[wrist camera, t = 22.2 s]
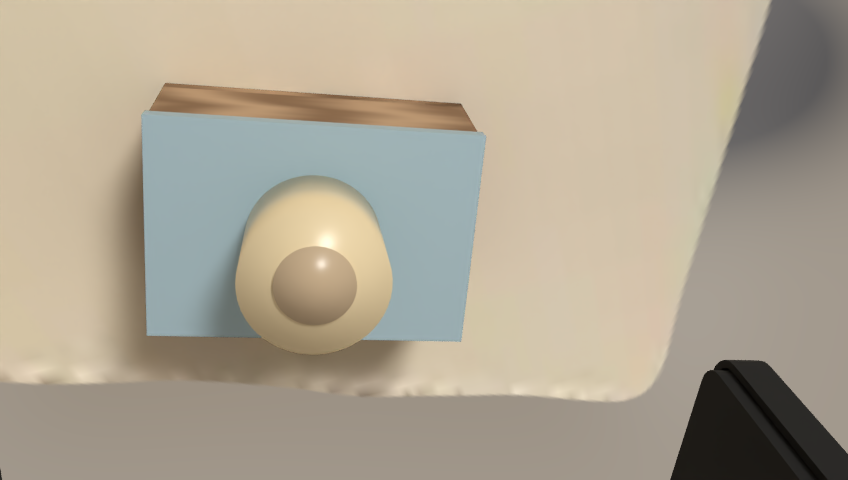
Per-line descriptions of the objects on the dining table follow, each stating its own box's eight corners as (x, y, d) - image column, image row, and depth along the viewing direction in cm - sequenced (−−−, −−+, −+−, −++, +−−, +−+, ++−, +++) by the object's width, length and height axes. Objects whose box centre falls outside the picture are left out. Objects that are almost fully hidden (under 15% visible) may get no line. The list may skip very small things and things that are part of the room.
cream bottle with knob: (242, 300, 36) (233, 355, 31) (245, 171, 34) (235, 208, 29) (375, 304, 37) (387, 358, 32) (385, 179, 35) (399, 216, 30)
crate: (171, 268, 42) (155, 317, 38) (165, 83, 38) (146, 115, 33) (437, 276, 45) (452, 324, 40) (460, 103, 40) (479, 136, 36)
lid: (149, 327, 36) (146, 335, 36) (145, 110, 33) (141, 114, 32) (458, 334, 39) (461, 341, 38) (482, 132, 35) (486, 136, 35)
